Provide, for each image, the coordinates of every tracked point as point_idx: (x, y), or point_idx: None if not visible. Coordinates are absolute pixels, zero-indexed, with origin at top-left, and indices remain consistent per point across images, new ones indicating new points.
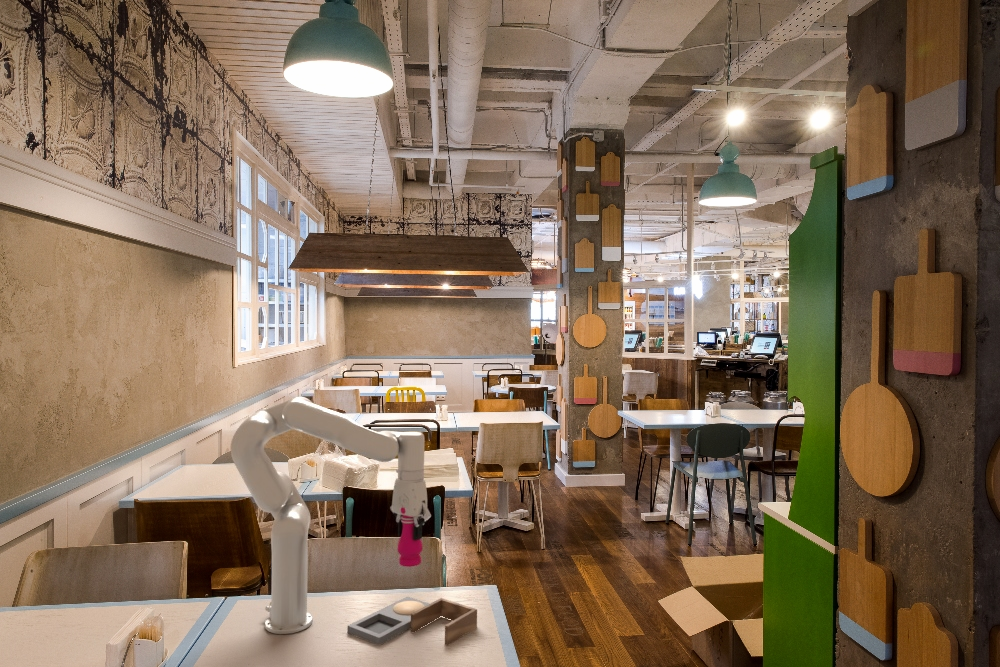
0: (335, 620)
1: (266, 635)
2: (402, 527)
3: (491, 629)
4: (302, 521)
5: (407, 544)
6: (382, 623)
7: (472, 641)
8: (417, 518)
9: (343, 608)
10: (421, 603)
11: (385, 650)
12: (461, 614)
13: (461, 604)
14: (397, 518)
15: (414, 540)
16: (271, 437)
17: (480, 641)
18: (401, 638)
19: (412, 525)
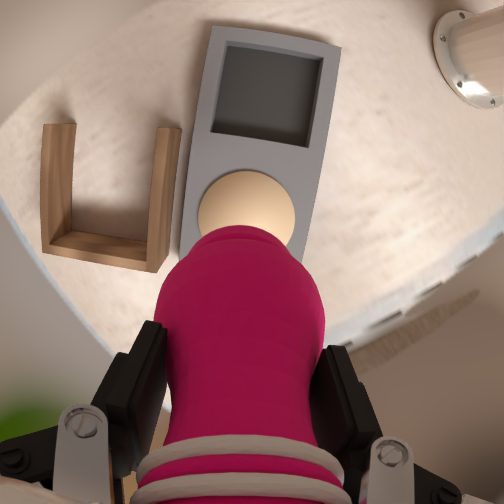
0: (407, 105)
1: (469, 8)
2: (326, 419)
3: (40, 243)
4: None
5: (204, 279)
6: (282, 132)
7: (39, 172)
8: (55, 486)
9: (428, 175)
10: None
11: (185, 22)
12: (88, 242)
13: (84, 260)
14: (399, 469)
15: (151, 321)
16: None
17: (29, 182)
18: (183, 88)
19: (169, 435)
